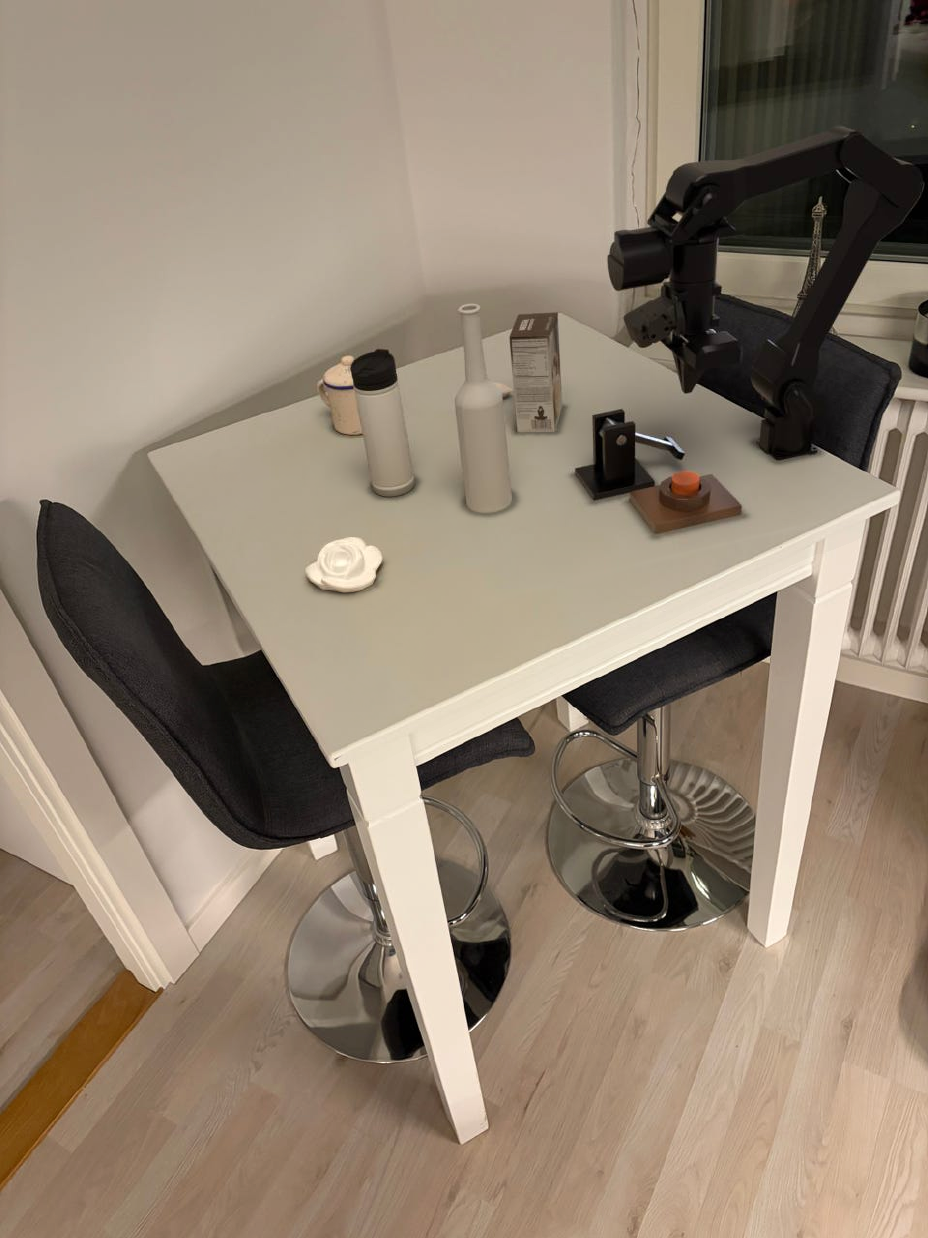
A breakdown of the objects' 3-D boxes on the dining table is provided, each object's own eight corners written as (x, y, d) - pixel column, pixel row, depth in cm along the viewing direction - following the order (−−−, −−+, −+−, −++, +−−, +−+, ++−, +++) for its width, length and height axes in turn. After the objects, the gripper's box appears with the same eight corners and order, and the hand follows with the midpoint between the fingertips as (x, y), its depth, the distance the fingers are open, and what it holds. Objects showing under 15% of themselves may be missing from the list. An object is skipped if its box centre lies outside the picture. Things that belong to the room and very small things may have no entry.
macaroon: (485, 393, 160) (484, 379, 159) (514, 391, 159) (513, 377, 158) (482, 404, 157) (481, 390, 155) (512, 402, 156) (511, 388, 154)
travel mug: (423, 477, 139) (403, 349, 127) (403, 499, 135) (380, 369, 123) (386, 472, 142) (364, 346, 129) (365, 494, 137) (340, 366, 125)
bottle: (488, 484, 136) (468, 294, 118) (521, 498, 132) (506, 303, 114) (456, 504, 132) (431, 311, 115) (489, 519, 128) (469, 321, 111)
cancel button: (692, 480, 125) (692, 468, 124) (703, 492, 122) (704, 481, 121) (666, 485, 124) (667, 474, 123) (677, 498, 122) (678, 487, 120)
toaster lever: (665, 448, 134) (673, 433, 133) (679, 464, 130) (687, 449, 129) (595, 428, 130) (602, 413, 128) (607, 444, 126) (615, 428, 124)
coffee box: (524, 407, 154) (517, 312, 144) (563, 407, 153) (558, 310, 143) (516, 433, 147) (508, 335, 137) (556, 433, 146) (551, 334, 136)
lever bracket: (633, 462, 136) (634, 400, 130) (654, 488, 130) (656, 424, 124) (575, 475, 135) (572, 413, 129) (593, 502, 129) (592, 438, 123)
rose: (364, 516, 124) (389, 551, 117) (370, 544, 127) (394, 580, 119) (292, 539, 121) (313, 577, 114) (300, 567, 124) (321, 605, 117)
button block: (711, 484, 129) (712, 461, 127) (741, 516, 122) (743, 493, 120) (629, 502, 128) (629, 480, 126) (655, 535, 121) (655, 512, 119)
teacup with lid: (397, 415, 157) (386, 349, 150) (366, 439, 151) (353, 372, 144) (340, 406, 162) (326, 341, 155) (308, 429, 156) (293, 363, 149)
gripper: (605, 265, 122) (606, 376, 132) (660, 312, 108) (657, 433, 118) (685, 251, 124) (680, 362, 133) (750, 295, 109) (739, 416, 119)
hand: (686, 392), depth 126 cm, fingers closed
